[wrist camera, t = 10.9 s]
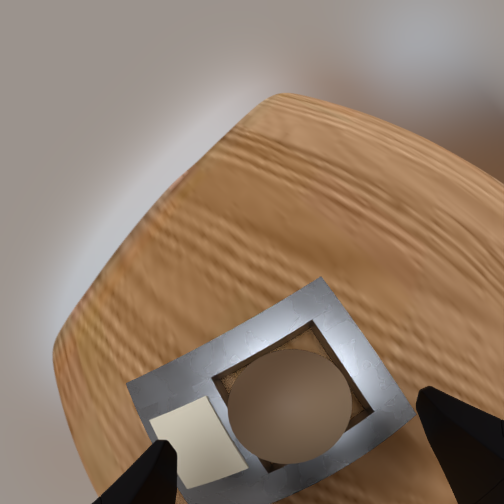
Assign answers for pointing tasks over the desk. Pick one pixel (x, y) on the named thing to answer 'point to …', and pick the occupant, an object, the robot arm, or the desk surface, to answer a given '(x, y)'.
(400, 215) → the desk surface
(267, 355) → the walnut peg
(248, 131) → the desk surface
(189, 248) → the desk surface
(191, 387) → the hole plate
